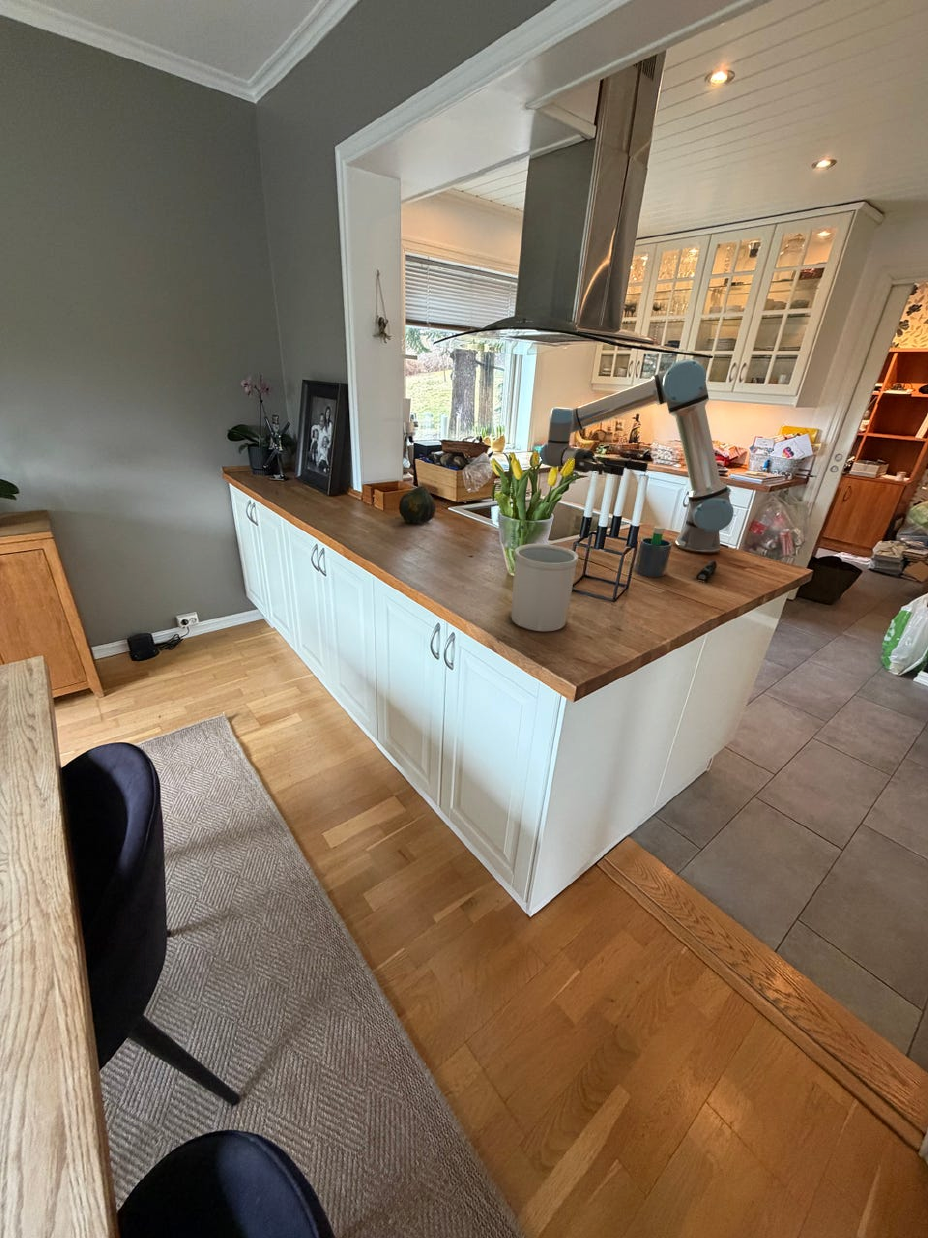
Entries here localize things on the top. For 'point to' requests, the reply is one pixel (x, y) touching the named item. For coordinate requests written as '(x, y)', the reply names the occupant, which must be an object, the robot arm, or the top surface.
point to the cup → (652, 558)
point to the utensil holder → (542, 586)
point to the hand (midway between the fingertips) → (635, 469)
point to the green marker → (657, 535)
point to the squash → (417, 505)
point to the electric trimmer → (706, 572)
